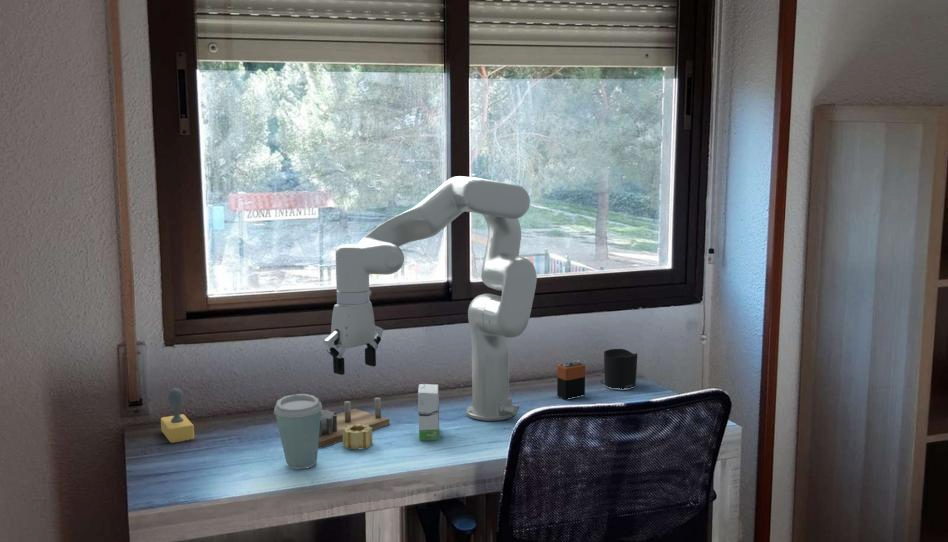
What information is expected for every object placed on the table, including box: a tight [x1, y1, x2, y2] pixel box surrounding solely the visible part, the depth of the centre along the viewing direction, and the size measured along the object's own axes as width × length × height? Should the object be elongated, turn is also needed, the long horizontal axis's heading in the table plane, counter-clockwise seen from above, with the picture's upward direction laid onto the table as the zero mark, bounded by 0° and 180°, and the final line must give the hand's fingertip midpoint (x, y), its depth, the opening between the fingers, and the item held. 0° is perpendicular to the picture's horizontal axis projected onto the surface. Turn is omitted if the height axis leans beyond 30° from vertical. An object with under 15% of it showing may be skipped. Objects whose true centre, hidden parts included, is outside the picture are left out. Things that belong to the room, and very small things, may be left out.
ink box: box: [417, 383, 440, 441], centre depth 229 cm, size 9×5×12 cm, turn 2°
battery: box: [556, 359, 586, 400], centre depth 259 cm, size 4×7×10 cm, turn 123°
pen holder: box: [603, 348, 638, 389], centre depth 268 cm, size 9×9×10 cm
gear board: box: [318, 397, 390, 448], centre depth 233 cm, size 13×22×7 cm, turn 139°
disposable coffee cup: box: [273, 393, 323, 470], centre depth 209 cm, size 11×11×15 cm
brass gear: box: [342, 424, 373, 450], centre depth 223 cm, size 7×7×4 cm
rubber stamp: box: [160, 387, 195, 444], centre depth 230 cm, size 10×6×12 cm, turn 30°
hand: (355, 369), depth 220 cm, fingers open, 9 cm apart
